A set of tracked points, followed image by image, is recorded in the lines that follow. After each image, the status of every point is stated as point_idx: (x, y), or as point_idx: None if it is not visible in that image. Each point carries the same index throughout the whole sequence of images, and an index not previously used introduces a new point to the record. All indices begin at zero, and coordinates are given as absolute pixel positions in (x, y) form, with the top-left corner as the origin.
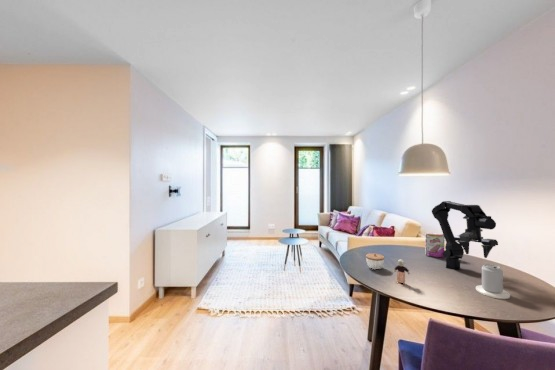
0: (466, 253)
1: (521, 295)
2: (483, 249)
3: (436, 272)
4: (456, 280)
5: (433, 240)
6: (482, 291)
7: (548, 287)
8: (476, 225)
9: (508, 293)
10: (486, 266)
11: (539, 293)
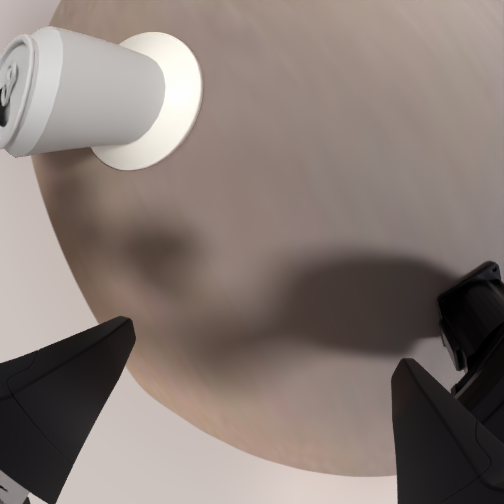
0: (411, 362)
1: (94, 209)
2: (24, 384)
3: (482, 103)
4: (336, 66)
5: None
6: (145, 40)
7: (138, 381)
8: None
9: (95, 149)
10: (24, 59)
11: (101, 299)
